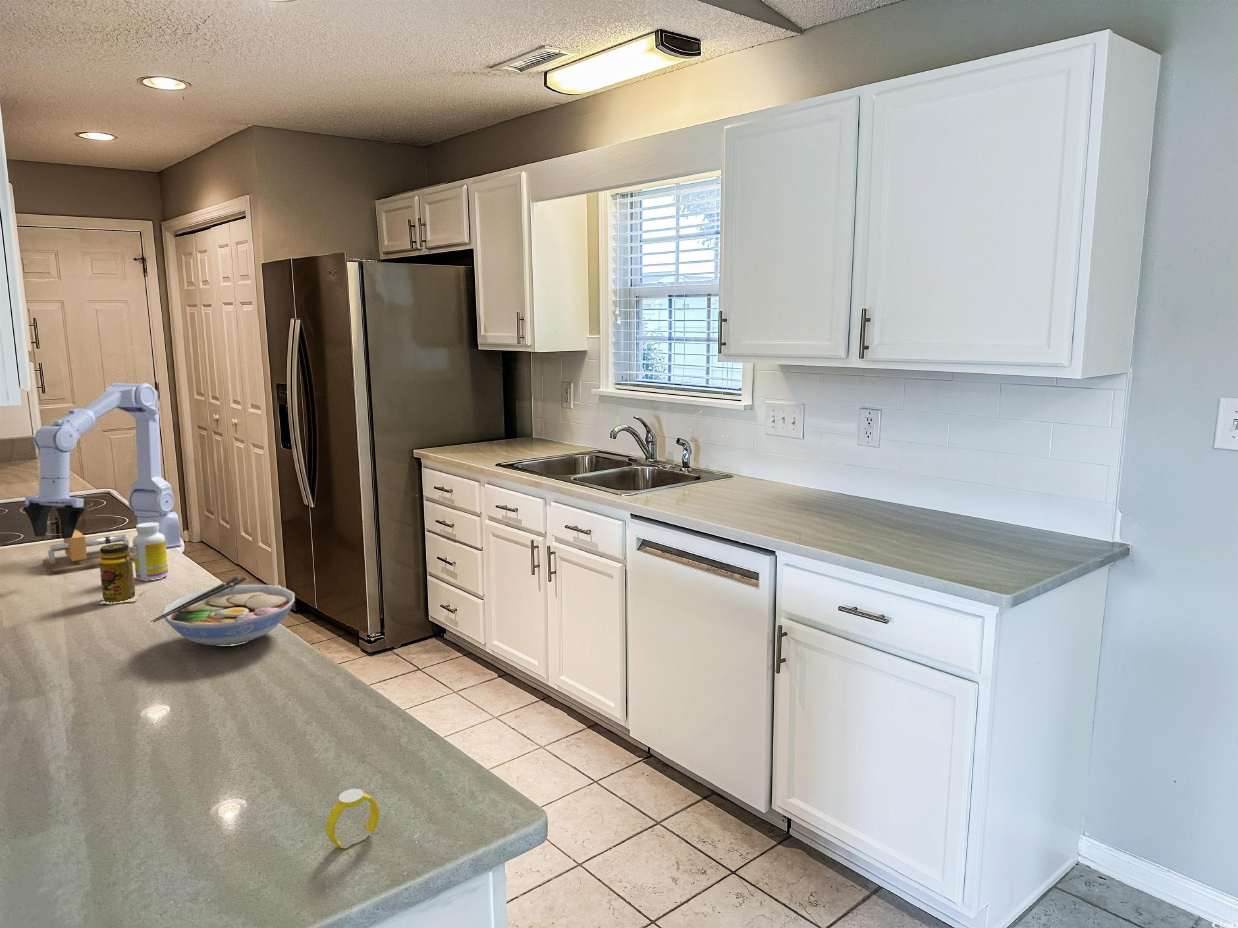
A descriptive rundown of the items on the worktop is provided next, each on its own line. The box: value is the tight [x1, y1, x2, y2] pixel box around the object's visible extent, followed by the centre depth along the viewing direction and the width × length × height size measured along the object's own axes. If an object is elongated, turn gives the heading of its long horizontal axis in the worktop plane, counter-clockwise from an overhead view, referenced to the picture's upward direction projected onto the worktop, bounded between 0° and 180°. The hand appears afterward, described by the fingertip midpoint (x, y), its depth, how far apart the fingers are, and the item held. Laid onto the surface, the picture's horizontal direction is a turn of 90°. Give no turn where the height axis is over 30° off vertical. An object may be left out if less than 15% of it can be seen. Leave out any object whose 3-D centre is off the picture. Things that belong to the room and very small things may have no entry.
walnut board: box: [42, 550, 134, 576], centre depth 209 cm, size 18×13×1 cm
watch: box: [325, 788, 380, 848], centre depth 96 cm, size 6×3×6 cm, turn 137°
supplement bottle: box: [132, 522, 169, 581], centre depth 196 cm, size 7×7×13 cm
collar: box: [63, 529, 88, 561], centre depth 206 cm, size 3×9×6 cm, turn 43°
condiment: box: [99, 542, 136, 603], centre depth 181 cm, size 7×8×12 cm
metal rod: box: [47, 534, 131, 566], centre depth 208 cm, size 17×2×5 cm, turn 132°
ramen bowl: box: [150, 576, 295, 646], centre depth 158 cm, size 25×23×8 cm
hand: (53, 537), depth 193 cm, fingers open, 7 cm apart
